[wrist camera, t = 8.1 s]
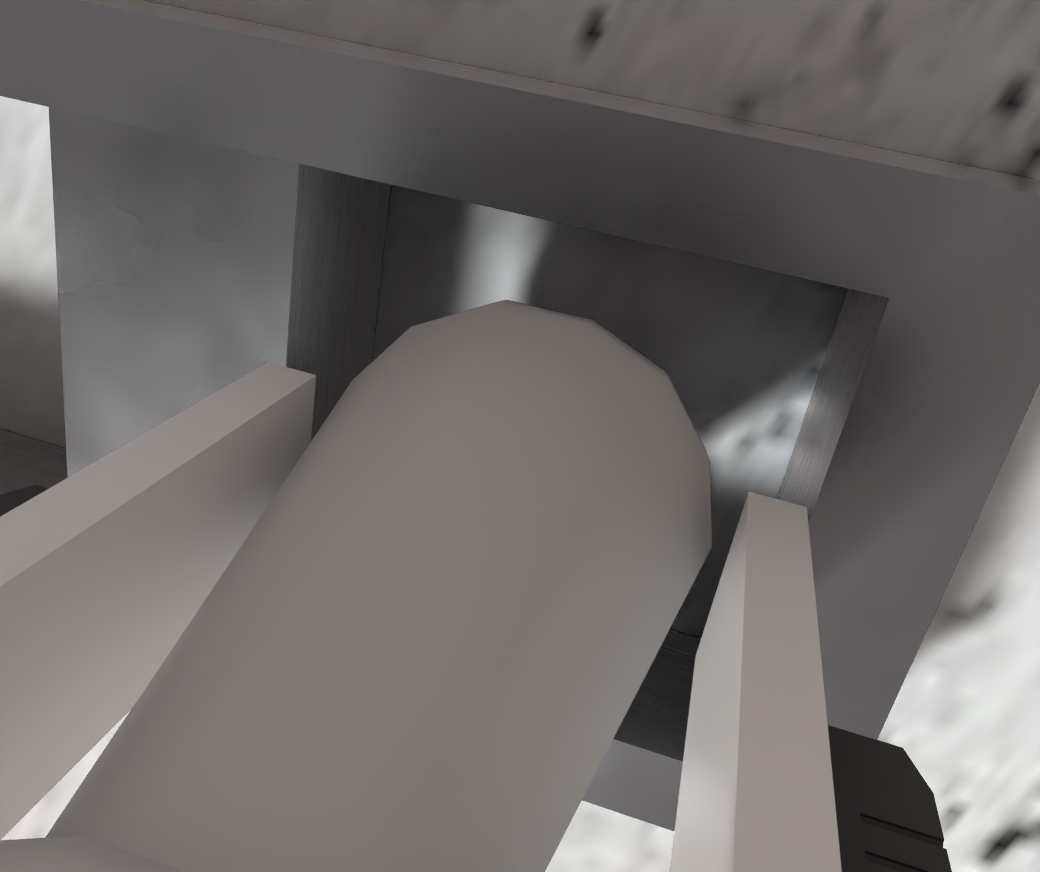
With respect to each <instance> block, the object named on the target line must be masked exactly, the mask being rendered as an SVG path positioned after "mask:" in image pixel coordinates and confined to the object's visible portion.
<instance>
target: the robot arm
mask: <svg viewBox="0 0 1040 872" xmlns="http://www.w3.org/2000/svg"><path fill="white" fill-rule="evenodd" d="M315 382H316V375H314V374H310V373H306V372H303V371H299V370H295V369H291V368H288V367H284V366H280V365H276V364H273V363H269V362H267V363H266V364H264V365H262V366H260V367H259V368H257V369H255V370H253V371H252V372H250V373H248V374H246V375H245V376H243V377H241V378H240V379H238V380H236V381H234V382H233V383H231V384H229V385H227V386H226V387H224V388H222V389H221V390H219V391H217V392H215V393H214V394H212V395H210V396H208V397H207V398H205V399H203V400H201V401H200V402H198V403H196V404H195V405H193V406H191V407H189V408H188V409H186V410H184V411H182V412H181V413H179V414H177V415H176V416H174V417H172V418H170V419H169V420H167V421H165V422H163V423H162V424H160V425H158V426H156V427H155V428H153V429H151V430H150V431H148V432H146V433H144V434H143V435H141V436H139V437H137V438H136V439H134V440H132V441H130V442H129V443H127V444H125V445H124V446H122V447H120V448H118V449H117V450H115V451H113V452H111V453H110V454H108V455H106V456H105V457H103V458H101V459H99V460H98V461H96V462H94V463H92V464H91V465H89V466H87V467H85V468H84V469H82V470H80V471H79V472H77V473H75V474H73V475H72V476H70V477H68V478H66V479H65V480H63V481H61V482H60V483H58V484H56V485H54V486H53V487H51V488H46V487H42V486H39V485H32V486H29V487H25V488H22V489H18V490H15V491H11V492H8V493H4V494H1V495H0V840H1V839H2V838H3V837H4V836H5V835H6V834H7V833H8V832H9V831H10V830H11V829H12V828H13V827H14V826H15V825H16V824H17V823H18V822H19V821H20V820H21V819H22V818H23V817H24V816H25V815H26V814H27V813H28V812H29V811H30V810H31V809H32V808H33V807H34V806H35V805H36V804H37V803H38V802H39V801H40V800H41V799H42V798H43V797H44V796H45V795H46V794H47V793H48V792H49V791H50V790H51V789H52V788H53V787H54V786H55V785H56V784H57V783H58V782H59V781H60V780H61V779H62V778H63V777H64V776H65V775H66V774H67V773H68V772H69V771H70V770H71V769H72V768H73V767H74V766H75V765H76V764H77V763H78V762H79V761H80V760H81V759H82V758H83V757H84V756H85V755H86V754H87V753H88V752H89V751H90V750H91V749H92V748H93V747H94V746H95V745H96V744H97V743H98V742H99V741H100V740H101V739H102V738H103V737H104V736H105V735H106V734H107V733H108V732H109V731H110V730H111V729H112V728H113V727H114V726H115V725H116V724H117V723H118V722H119V721H120V720H121V719H122V718H123V717H124V716H125V715H126V714H127V713H128V712H129V711H130V710H131V709H132V708H133V706H134V705H135V703H136V702H137V700H138V699H139V697H140V696H141V694H142V693H143V691H144V690H145V688H146V687H147V685H148V684H149V682H150V681H151V679H152V678H153V676H154V675H155V674H156V672H157V671H158V669H159V668H160V666H161V665H162V663H163V662H164V660H165V659H166V657H167V656H168V654H169V653H170V651H171V650H172V648H173V647H174V645H175V644H176V642H177V641H178V639H179V638H180V636H181V635H182V633H183V632H184V630H185V629H186V627H187V626H188V624H189V623H190V621H191V620H192V618H193V617H194V615H195V614H196V612H197V611H198V609H199V608H200V606H201V605H202V603H203V602H204V600H205V599H206V598H207V596H208V595H209V593H210V592H211V590H212V589H213V587H214V586H215V584H216V583H217V581H218V580H219V578H220V577H221V575H222V574H223V572H224V571H225V569H226V568H227V566H228V565H229V563H230V562H231V560H232V559H233V557H234V556H235V554H236V553H237V551H238V550H239V548H240V547H241V545H242V544H243V542H244V541H245V539H246V538H247V536H248V535H249V533H250V532H251V530H252V529H253V527H254V526H255V524H256V523H257V522H258V520H259V519H260V517H261V516H262V514H263V513H264V511H265V510H266V508H267V507H268V505H269V504H270V502H271V501H272V499H273V498H274V496H275V495H276V493H277V492H278V490H279V489H280V487H281V486H282V484H283V483H284V481H285V480H286V478H287V477H288V475H289V474H290V472H291V471H292V469H293V468H294V466H295V465H296V463H297V462H298V460H299V459H300V457H301V456H302V454H303V453H304V451H305V450H306V448H307V447H308V445H309V444H310V443H311V432H312V420H313V407H314V395H315ZM943 842H944V837H943V833H942V828H941V824H940V820H939V815H938V811H937V807H936V803H935V798H934V794H933V792H932V791H931V789H930V788H929V786H928V785H927V783H926V782H925V780H924V779H923V777H922V776H921V774H920V773H919V771H918V770H917V768H916V767H915V765H914V764H913V762H912V761H911V760H910V758H909V757H908V755H907V754H906V752H905V751H904V749H903V748H901V747H898V746H895V745H892V744H888V743H885V742H882V741H879V740H875V739H872V738H869V737H866V736H862V735H859V734H856V733H853V732H849V731H846V730H843V729H840V728H836V727H833V726H830V725H828V724H827V713H826V703H825V692H824V682H823V671H822V661H821V651H820V640H819V630H818V619H817V609H816V598H815V588H814V578H813V567H812V557H811V546H810V536H809V526H808V515H807V507H805V506H801V505H797V504H794V503H790V502H786V501H783V500H779V499H775V498H771V497H768V496H764V495H760V494H757V493H753V492H748V495H747V498H746V501H745V504H744V507H743V510H742V513H741V516H740V519H739V523H738V526H737V529H736V532H735V535H734V538H733V541H732V544H731V547H730V550H729V554H728V557H727V560H726V563H725V566H724V569H723V572H722V575H721V578H720V582H719V585H718V588H717V591H716V594H715V597H714V600H713V603H712V606H711V609H710V613H709V616H708V619H707V622H706V625H705V628H704V631H703V634H702V637H701V640H700V644H699V647H698V650H697V653H696V657H695V665H694V673H693V682H692V690H691V698H690V707H689V715H688V723H687V732H686V740H685V748H684V757H683V765H682V773H681V782H680V790H679V798H678V807H677V815H676V823H675V832H674V840H673V848H672V857H671V865H670V872H952V871H951V867H950V862H949V858H948V854H947V850H946V849H944V848H943Z"/></svg>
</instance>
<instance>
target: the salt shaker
mask: <svg viewBox="0 0 1040 872" xmlns="http://www.w3.org/2000/svg"><path fill="white" fill-rule="evenodd" d="M711 548H712V533H711V489H710V462H709V459H708V455H707V452H706V449H705V447H704V445H703V443H702V441H701V439H700V437H699V435H698V433H697V431H696V429H695V427H694V425H693V423H692V421H691V419H690V417H689V415H688V413H687V411H686V409H685V407H684V405H683V403H682V401H681V399H680V397H679V395H678V393H677V391H676V389H675V387H674V385H673V383H672V381H671V379H670V377H669V375H668V373H667V372H666V371H664V370H663V369H662V368H660V367H659V366H657V365H656V364H654V363H653V362H652V361H650V360H649V359H647V358H646V357H645V356H643V355H642V354H640V353H639V352H638V351H636V350H635V349H633V348H632V347H630V346H629V345H628V344H626V343H625V342H623V341H622V340H621V339H619V338H618V337H616V336H615V335H613V334H612V333H611V332H609V331H608V330H606V329H605V328H604V327H602V326H601V325H599V324H598V323H596V322H595V321H594V320H591V319H587V318H583V317H578V316H574V315H570V314H565V313H561V312H557V311H552V310H548V309H544V308H539V307H535V306H531V305H526V304H522V303H518V302H513V301H509V300H503V301H499V302H495V303H491V304H488V305H484V306H481V307H477V308H474V309H470V310H467V311H464V312H460V313H457V314H453V315H450V316H446V317H443V318H439V319H436V320H432V321H429V322H425V323H422V324H418V325H415V326H411V327H410V328H409V329H408V330H407V331H405V332H404V333H403V334H402V335H401V336H400V337H399V338H398V339H397V340H396V341H394V342H393V343H392V344H391V345H390V346H389V347H388V348H387V349H386V350H385V351H384V352H382V353H381V354H380V355H379V356H378V357H377V358H376V359H375V360H374V361H373V362H372V363H370V364H369V365H368V366H367V367H366V368H365V369H364V370H363V371H362V372H361V373H360V374H358V375H357V376H356V377H355V378H354V379H353V380H352V381H351V383H350V384H349V386H348V387H347V389H346V390H345V392H344V393H343V395H342V396H341V398H340V399H339V401H338V402H337V404H336V405H335V407H334V408H333V410H332V411H331V413H330V414H329V416H328V417H327V419H326V420H325V422H324V423H323V425H322V426H321V428H320V429H319V431H318V432H317V434H316V435H315V437H314V438H313V440H312V441H311V443H310V444H309V445H308V447H307V448H306V450H305V451H304V453H303V454H302V456H301V457H300V459H299V460H298V462H297V463H296V465H295V466H294V468H293V469H292V471H291V472H290V474H289V475H288V477H287V478H286V480H285V481H284V483H283V484H282V486H281V487H280V489H279V490H278V492H277V493H276V495H275V496H274V498H273V499H272V501H271V502H270V504H269V505H268V507H267V508H266V510H265V511H264V513H263V514H262V516H261V517H260V519H259V520H258V522H257V523H256V524H255V526H254V527H253V529H252V530H251V532H250V533H249V535H248V536H247V538H246V539H245V541H244V542H243V544H242V545H241V547H240V548H239V550H238V551H237V553H236V554H235V556H234V557H233V559H232V560H231V562H230V563H229V565H228V566H227V568H226V569H225V571H224V572H223V574H222V575H221V577H220V578H219V580H218V581H217V583H216V584H215V586H214V587H213V589H212V590H211V592H210V593H209V595H208V596H207V598H206V599H205V600H204V602H203V603H202V605H201V606H200V608H199V609H198V611H197V612H196V614H195V615H194V617H193V618H192V620H191V621H190V623H189V624H188V626H187V627H186V629H185V630H184V632H183V633H182V635H181V636H180V638H179V639H178V641H177V642H176V644H175V645H174V647H173V648H172V650H171V651H170V653H169V654H168V656H167V657H166V659H165V660H164V662H163V663H162V665H161V666H160V668H159V669H158V671H157V672H156V674H155V675H154V676H153V678H152V679H151V681H150V682H149V684H148V685H147V687H146V688H145V690H144V691H143V693H142V694H141V696H140V697H139V699H138V700H137V702H136V703H135V705H134V706H133V708H132V709H131V711H130V712H129V714H128V715H127V717H126V718H125V720H124V721H123V723H122V724H121V726H120V727H119V729H118V730H117V732H116V733H115V735H114V736H113V738H112V739H111V741H110V742H109V744H108V745H107V747H106V748H105V750H104V751H103V753H102V754H101V755H100V757H99V758H98V760H97V761H96V763H95V764H94V766H93V767H92V769H91V770H90V772H89V773H88V775H87V776H86V778H85V779H84V781H83V782H82V784H81V785H80V787H79V788H78V790H77V791H76V793H75V794H74V796H73V797H72V799H71V800H70V802H69V803H68V805H67V806H66V808H65V809H64V811H63V812H62V814H61V815H60V817H59V818H58V820H57V821H56V823H55V824H54V826H53V827H52V829H51V830H50V831H49V833H48V834H47V836H46V837H45V838H35V839H19V840H2V841H0V872H545V870H546V868H547V866H548V864H549V862H550V860H551V859H552V857H553V855H554V853H555V851H556V849H557V847H558V845H559V843H560V841H561V839H562V837H563V835H564V833H565V831H566V829H567V827H568V826H569V824H570V822H571V820H572V818H573V816H574V814H575V812H576V810H577V808H578V806H579V804H580V802H581V800H582V798H583V796H584V794H585V793H586V791H587V789H588V787H589V785H590V783H591V781H592V779H593V777H594V775H595V773H596V771H597V769H598V767H599V765H600V763H601V761H602V759H603V758H604V756H605V754H606V752H607V750H608V748H609V746H610V744H611V742H612V740H613V738H614V736H615V734H616V732H617V730H618V728H619V726H620V725H621V723H622V721H623V719H624V717H625V715H626V713H627V711H628V709H629V707H630V705H631V703H632V701H633V699H634V697H635V695H636V693H637V692H638V690H639V688H640V686H641V684H642V682H643V680H644V678H645V676H646V674H647V672H648V670H649V668H650V666H651V664H652V662H653V660H654V659H655V657H656V655H657V653H658V651H659V649H660V647H661V645H662V643H663V641H664V639H665V637H666V635H667V633H668V631H669V629H670V627H671V625H672V624H673V622H674V620H675V618H676V616H677V614H678V612H679V610H680V608H681V606H682V604H683V602H684V600H685V598H686V596H687V594H688V592H689V591H690V589H691V587H692V585H693V583H694V581H695V579H696V577H697V575H698V573H699V571H700V569H701V567H702V565H703V563H704V561H705V559H706V558H707V556H708V554H709V552H710V550H711Z"/></svg>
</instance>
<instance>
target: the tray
mask: <svg viewBox="0 0 1040 872" xmlns="http://www.w3.org/2000/svg"><path fill="white" fill-rule="evenodd" d="M0 96H4V97H8V98H13V99H17V100H22V101H26V102H30V103H35V104H39V105H44V106H48V107H49V121H50V141H51V161H52V180H53V200H54V220H55V239H56V259H57V279H58V298H59V318H60V338H61V358H62V377H63V397H64V417H65V436H66V448H63V447H60V446H56V445H53V444H50V443H46V442H43V441H40V440H36V439H33V438H30V437H26V436H23V435H20V434H16V433H13V432H10V431H6V430H3V429H0V495H1V494H4V493H8V492H11V491H15V490H18V489H22V488H25V487H29V486H32V485H39V486H42V487H46V488H51V487H53V486H54V485H56V484H58V483H60V482H61V481H63V480H65V479H66V478H68V477H70V476H72V475H73V474H75V473H77V472H79V471H80V470H82V469H84V468H85V467H87V466H89V465H91V464H92V463H94V462H96V461H98V460H99V459H101V458H103V457H105V456H106V455H108V454H110V453H111V452H113V451H115V450H117V449H118V448H120V447H122V446H124V445H125V444H127V443H129V442H130V441H132V440H134V439H136V438H137V437H139V436H141V435H143V434H144V433H146V432H148V431H150V430H151V429H153V428H155V427H156V426H158V425H160V424H162V423H163V422H165V421H167V420H169V419H170V418H172V417H174V416H176V415H177V414H179V413H181V412H182V411H184V410H186V409H188V408H189V407H191V406H193V405H195V404H196V403H198V402H200V401H201V400H203V399H205V398H207V397H208V396H210V395H212V394H214V393H215V392H217V391H219V390H221V389H222V388H224V387H226V386H227V385H229V384H231V383H233V382H234V381H236V380H238V379H240V378H241V377H243V376H245V375H246V374H248V373H250V372H252V371H253V370H255V369H257V368H259V367H260V366H262V365H264V364H266V363H267V362H269V363H273V364H276V365H280V366H284V367H288V368H291V369H295V370H299V371H303V372H306V373H310V374H314V375H316V382H315V395H314V407H313V420H312V432H311V441H312V440H313V438H314V437H315V435H316V434H317V432H318V431H319V429H320V428H321V426H322V425H323V423H324V422H325V420H326V419H327V417H328V416H329V414H330V413H331V411H332V410H333V408H334V407H335V405H336V404H337V402H338V401H339V399H340V398H341V396H342V395H343V393H344V392H345V390H346V389H347V387H348V386H349V384H350V383H351V381H352V380H353V379H354V378H355V377H356V376H357V375H358V374H360V373H361V372H362V371H363V370H364V369H365V368H366V367H367V366H368V365H369V364H370V363H372V355H373V346H374V337H375V328H376V318H377V309H378V300H379V291H380V281H381V272H382V263H383V254H384V244H385V235H386V226H387V216H388V207H389V198H390V189H391V185H395V186H400V187H404V188H408V189H413V190H417V191H422V192H426V193H430V194H435V195H439V196H444V197H448V198H452V199H457V200H461V201H466V202H470V203H474V204H479V205H483V206H488V207H492V208H496V209H501V210H505V211H510V212H514V213H518V214H523V215H527V216H532V217H536V218H540V219H545V220H549V221H554V222H558V223H562V224H567V225H571V226H576V227H580V228H584V229H589V230H593V231H597V232H602V233H606V234H611V235H615V236H619V237H624V238H628V239H633V240H637V241H641V242H646V243H650V244H655V245H659V246H663V247H668V248H672V249H677V250H681V251H685V252H690V253H694V254H699V255H703V256H707V257H712V258H716V259H721V260H725V261H729V262H734V263H738V264H743V265H747V266H751V267H756V268H760V269H765V270H769V271H773V272H778V273H782V274H787V275H791V276H795V277H800V278H804V279H809V280H813V281H817V282H822V283H826V284H830V285H835V286H839V287H844V288H848V291H847V294H846V297H845V300H844V303H843V306H842V309H841V312H840V315H839V318H838V321H837V324H836V327H835V330H834V333H833V335H832V338H831V341H830V344H829V347H828V350H827V353H826V356H825V359H824V362H823V365H822V368H821V371H820V374H819V377H818V380H817V383H816V386H815V389H814V391H813V394H812V397H811V400H810V403H809V406H808V409H807V412H806V415H805V418H804V421H803V424H802V427H801V430H800V433H799V436H798V439H797V442H796V444H795V447H794V450H793V453H792V456H791V459H790V462H789V465H788V468H787V471H786V474H785V477H784V480H783V483H782V486H781V489H780V492H779V495H778V498H777V499H779V500H783V501H786V502H790V503H794V504H797V505H801V506H805V507H807V515H808V526H809V536H810V546H811V557H812V567H813V578H814V588H815V598H816V609H817V619H818V630H819V640H820V651H821V661H822V671H823V682H824V692H825V703H826V713H827V724H828V725H830V726H833V727H836V728H840V729H843V730H846V731H849V732H853V733H856V734H859V735H862V736H866V737H869V738H872V739H875V740H877V739H878V737H879V734H880V732H881V730H882V728H883V726H884V723H885V721H886V719H887V717H888V715H889V712H890V710H891V708H892V706H893V704H894V701H895V699H896V697H897V695H898V693H899V690H900V688H901V686H902V684H903V682H904V679H905V677H906V675H907V673H908V671H909V668H910V666H911V664H912V662H913V660H914V657H915V655H916V653H917V651H918V649H919V646H920V644H921V642H922V640H923V638H924V635H925V633H926V631H927V629H928V627H929V624H930V622H931V620H932V618H933V616H934V613H935V611H936V609H937V607H938V605H939V602H940V600H941V598H942V596H943V594H944V591H945V589H946V587H947V585H948V583H949V580H950V578H951V576H952V574H953V572H954V569H955V567H956V565H957V563H958V561H959V558H960V556H961V554H962V552H963V550H964V547H965V545H966V543H967V541H968V539H969V536H970V534H971V532H972V530H973V528H974V525H975V523H976V521H977V519H978V517H979V514H980V512H981V510H982V508H983V506H984V504H985V501H986V499H987V497H988V495H989V493H990V490H991V488H992V486H993V484H994V482H995V479H996V477H997V475H998V473H999V471H1000V468H1001V466H1002V464H1003V462H1004V460H1005V457H1006V455H1007V453H1008V451H1009V449H1010V446H1011V444H1012V442H1013V440H1014V438H1015V435H1016V433H1017V431H1018V429H1019V427H1020V424H1021V422H1022V420H1023V418H1024V416H1025V413H1026V411H1027V409H1028V407H1029V405H1030V402H1031V400H1032V398H1033V396H1034V394H1035V391H1036V389H1037V387H1038V385H1039V383H1040V181H1038V180H1035V179H1032V178H1027V177H1022V176H1017V175H1013V174H1008V173H1003V172H998V171H993V170H988V169H983V168H978V167H973V166H968V165H963V164H958V163H953V162H948V161H943V160H938V159H933V158H928V157H923V156H918V155H913V154H908V153H903V152H898V151H893V150H888V149H883V148H878V147H873V146H868V145H863V144H858V143H853V142H848V141H843V140H838V139H833V138H828V137H823V136H818V135H813V134H808V133H803V132H798V131H793V130H788V129H783V128H778V127H773V126H768V125H763V124H758V123H753V122H748V121H743V120H738V119H733V118H728V117H723V116H718V115H713V114H708V113H703V112H698V111H693V110H688V109H683V108H678V107H673V106H669V105H664V104H659V103H654V102H649V101H644V100H639V99H634V98H629V97H624V96H619V95H614V94H609V93H604V92H599V91H594V90H589V89H584V88H579V87H574V86H569V85H564V84H559V83H554V82H549V81H544V80H539V79H534V78H529V77H524V76H519V75H514V74H509V73H504V72H499V71H494V70H489V69H484V68H479V67H474V66H469V65H464V64H459V63H454V62H449V61H444V60H439V59H434V58H429V57H424V56H419V55H414V54H409V53H404V52H399V51H394V50H389V49H384V48H379V47H374V46H369V45H364V44H359V43H354V42H349V41H344V40H339V39H334V38H330V37H325V36H320V35H315V34H310V33H305V32H300V31H295V30H290V29H285V28H280V27H275V26H270V25H265V24H260V23H255V22H250V21H245V20H240V19H235V18H230V17H225V16H220V15H215V14H210V13H205V12H200V11H195V10H190V9H185V8H180V7H175V6H170V5H165V4H160V3H155V2H150V1H145V0H0ZM700 640H701V638H697V637H694V636H691V635H687V634H684V633H681V632H677V631H674V630H671V629H669V631H668V633H667V635H666V637H665V639H664V641H663V643H662V645H661V647H660V649H659V651H658V653H657V655H656V657H655V659H654V660H653V662H652V664H651V666H650V668H649V670H648V672H647V674H646V676H645V678H644V680H643V682H642V684H641V686H640V688H639V690H638V692H637V693H636V695H635V697H634V699H633V701H632V703H631V705H630V707H629V709H628V711H627V713H626V715H625V717H624V719H623V721H622V723H621V725H620V726H619V728H618V730H617V732H616V734H615V736H614V738H613V740H612V742H611V744H610V746H609V748H608V750H607V752H606V754H605V756H604V758H603V759H602V761H601V763H600V765H599V767H598V769H597V771H596V773H595V775H594V777H593V779H592V781H591V783H590V785H589V787H588V789H587V791H586V793H585V794H584V796H583V798H582V800H583V801H586V802H589V803H592V804H595V805H598V806H601V807H604V808H607V809H610V810H613V811H616V812H619V813H622V814H625V815H627V816H630V817H633V818H636V819H639V820H642V821H645V822H648V823H651V824H654V825H657V826H660V827H663V828H666V829H669V830H672V831H675V823H676V815H677V807H678V798H679V790H680V782H681V773H682V765H683V757H684V748H685V740H686V732H687V723H688V715H689V707H690V698H691V690H692V682H693V673H694V665H695V657H696V653H697V650H698V647H699V644H700Z"/></svg>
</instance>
